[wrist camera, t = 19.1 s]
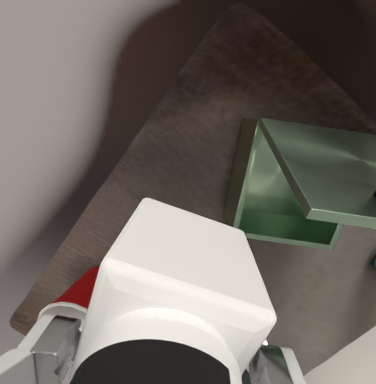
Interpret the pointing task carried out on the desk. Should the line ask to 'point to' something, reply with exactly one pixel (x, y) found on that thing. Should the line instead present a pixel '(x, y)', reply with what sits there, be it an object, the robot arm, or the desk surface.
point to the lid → (327, 170)
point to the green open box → (269, 198)
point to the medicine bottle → (173, 304)
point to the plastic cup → (75, 298)
